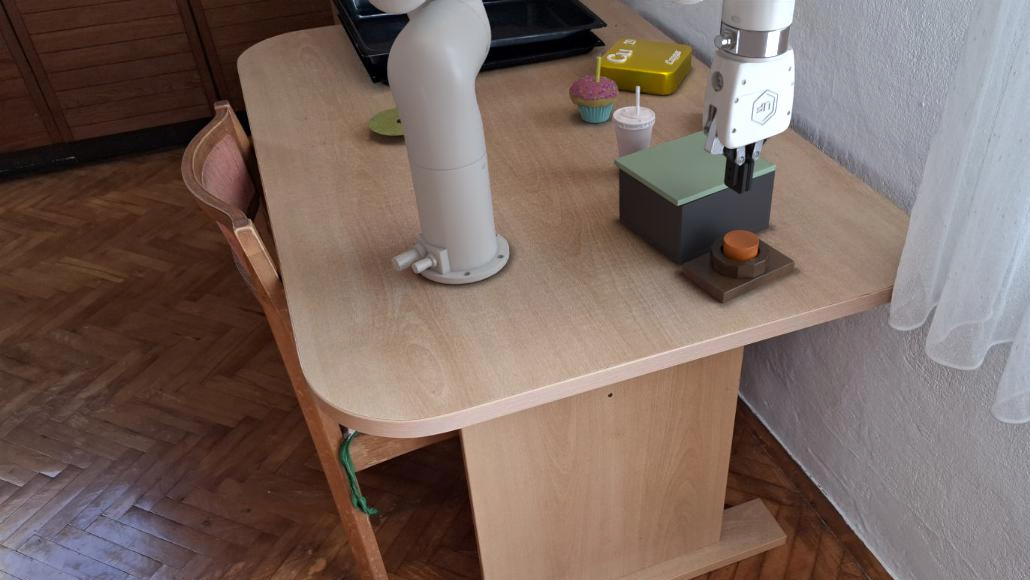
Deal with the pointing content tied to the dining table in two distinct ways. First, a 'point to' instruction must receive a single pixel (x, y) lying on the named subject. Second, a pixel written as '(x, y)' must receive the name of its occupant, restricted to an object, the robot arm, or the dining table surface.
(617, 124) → the smoothie
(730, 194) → the dark grey hollow box
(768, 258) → the switch block
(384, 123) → the mat
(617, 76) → the element tile
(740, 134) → the robot arm
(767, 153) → the dining table surface
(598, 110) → the cupcake
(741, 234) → the button
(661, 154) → the lid
